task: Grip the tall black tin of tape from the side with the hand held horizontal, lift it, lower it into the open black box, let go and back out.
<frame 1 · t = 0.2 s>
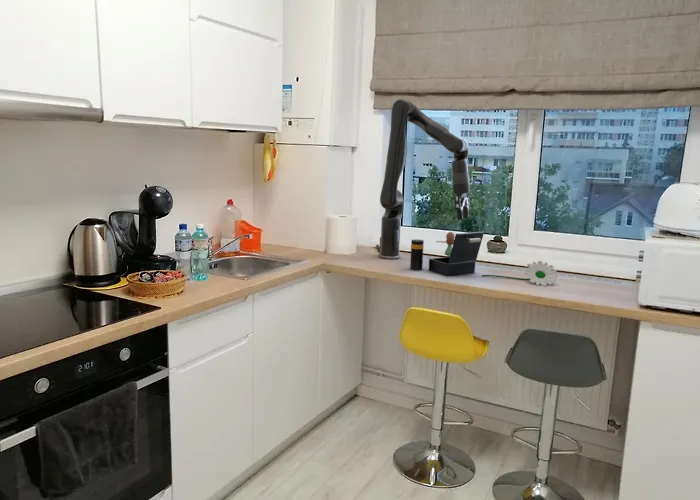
hand: (463, 218, 244), 22 cm above the worktop, tool pointing down, fingers open, 8 cm apart
flower: (519, 280, 225), on the worktop
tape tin: (416, 269, 240), on the worktop
toy: (448, 263, 255), on the worktop
black box: (451, 271, 236), on the worktop
bin lid: (469, 249, 226), point 12 cm above the worktop, hinge at 105.0°
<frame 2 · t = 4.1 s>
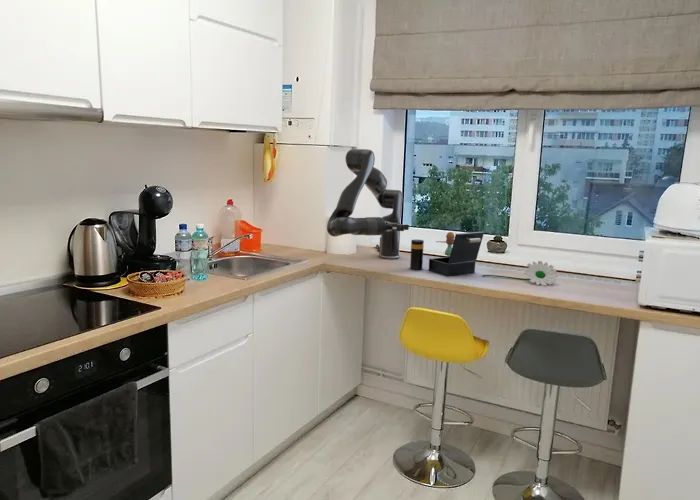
hand: (401, 226, 231), 20 cm above the worktop, tool horizontal, fingers open, 8 cm apart
nothing on the worktop moved.
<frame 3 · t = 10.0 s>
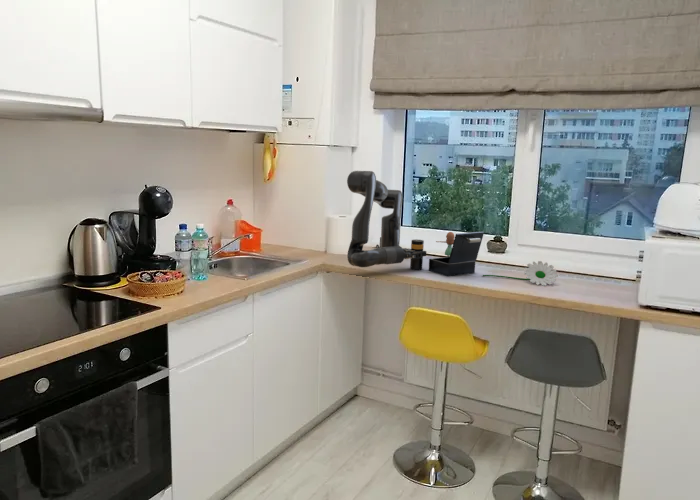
hand: (421, 252, 240), 8 cm above the worktop, tool horizontal, fingers closed on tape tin, 5 cm apart
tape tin: (416, 269, 240), on the worktop, touching gripper
everything else where it was.
when the fingers open (8 cm above the worktop, at t = 18.5 s): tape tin stays where it is, resting on black box.
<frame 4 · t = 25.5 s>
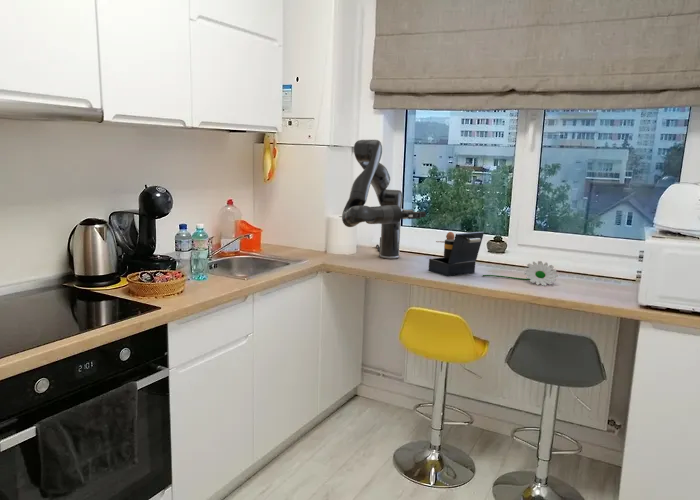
hand: (418, 213, 227), 26 cm above the worktop, tool horizontal, fingers open, 8 cm apart
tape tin: (449, 269, 237), point 1 cm above the worktop, touching black box
everything else where it was.
at the end: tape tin inside the target area in the black box (1.4 cm from its centre), point 0.8 cm above the black box's base; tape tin tilted 0°; the gripper is holding nothing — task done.
